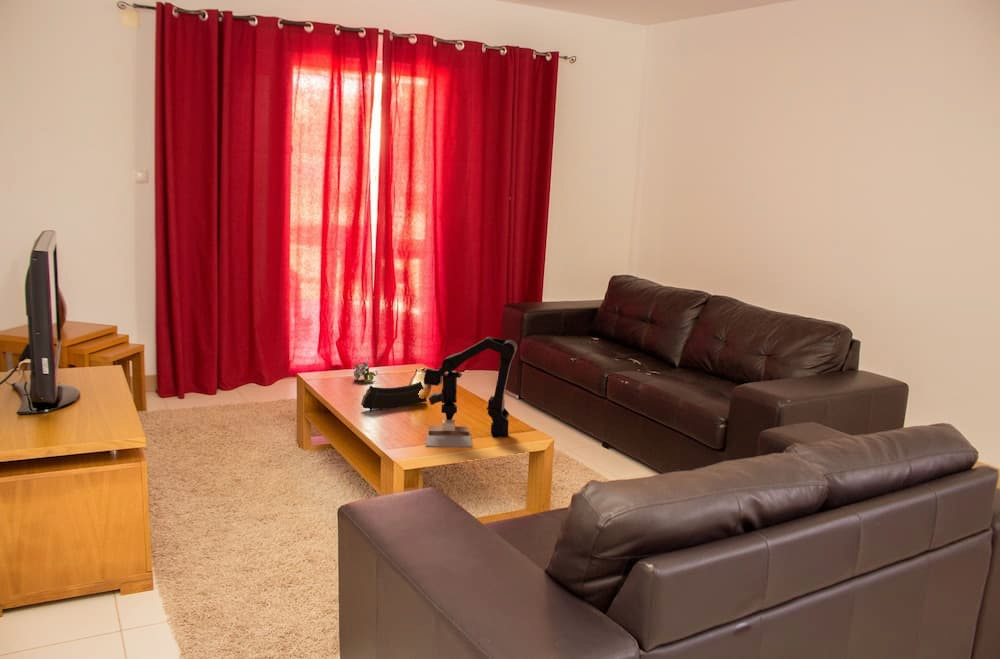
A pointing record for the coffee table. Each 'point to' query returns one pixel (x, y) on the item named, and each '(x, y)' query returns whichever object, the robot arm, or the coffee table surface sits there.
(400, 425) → the coffee table surface
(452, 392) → the robot arm
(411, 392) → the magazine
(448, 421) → the peach square block
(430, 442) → the mat
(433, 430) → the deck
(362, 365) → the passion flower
